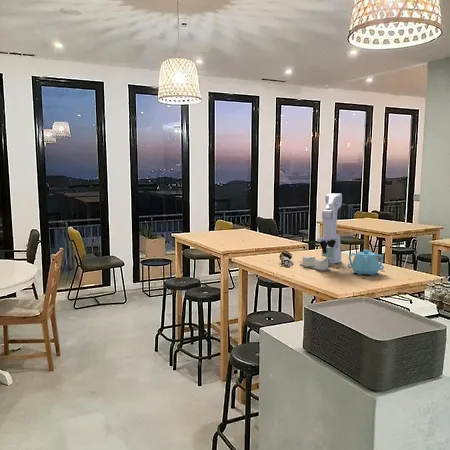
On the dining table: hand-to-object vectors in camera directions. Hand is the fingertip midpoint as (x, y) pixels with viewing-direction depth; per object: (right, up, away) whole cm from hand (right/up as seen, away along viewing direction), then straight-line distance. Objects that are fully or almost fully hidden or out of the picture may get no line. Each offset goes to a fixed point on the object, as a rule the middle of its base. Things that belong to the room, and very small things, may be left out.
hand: (327, 252), depth 272 cm
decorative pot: (+19, -11, -13) cm, 25 cm away
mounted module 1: (-10, -9, +7) cm, 15 cm away
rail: (-7, -9, +2) cm, 12 cm away
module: (0, -2, 0) cm, 2 cm away
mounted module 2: (-4, -10, -3) cm, 11 cm away
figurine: (-23, -8, +14) cm, 28 cm away
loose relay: (0, -9, +10) cm, 13 cm away
